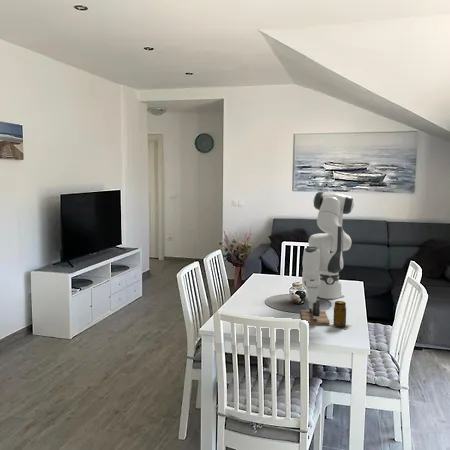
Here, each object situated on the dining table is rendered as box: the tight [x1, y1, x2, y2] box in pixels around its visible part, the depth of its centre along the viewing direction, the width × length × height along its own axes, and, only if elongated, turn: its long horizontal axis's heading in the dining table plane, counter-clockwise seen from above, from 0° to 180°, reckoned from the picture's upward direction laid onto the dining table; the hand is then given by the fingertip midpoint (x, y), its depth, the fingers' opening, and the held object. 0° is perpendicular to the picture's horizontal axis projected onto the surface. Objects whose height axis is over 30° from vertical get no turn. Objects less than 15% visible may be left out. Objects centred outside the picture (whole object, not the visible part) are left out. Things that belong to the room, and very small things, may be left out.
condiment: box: [329, 300, 353, 330], centre depth 226 cm, size 7×8×12 cm
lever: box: [308, 298, 321, 319], centre depth 236 cm, size 19×4×10 cm, turn 174°
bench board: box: [300, 309, 331, 327], centre depth 237 cm, size 20×13×2 cm, turn 174°
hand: (310, 306), depth 229 cm, fingers open, 3 cm apart
